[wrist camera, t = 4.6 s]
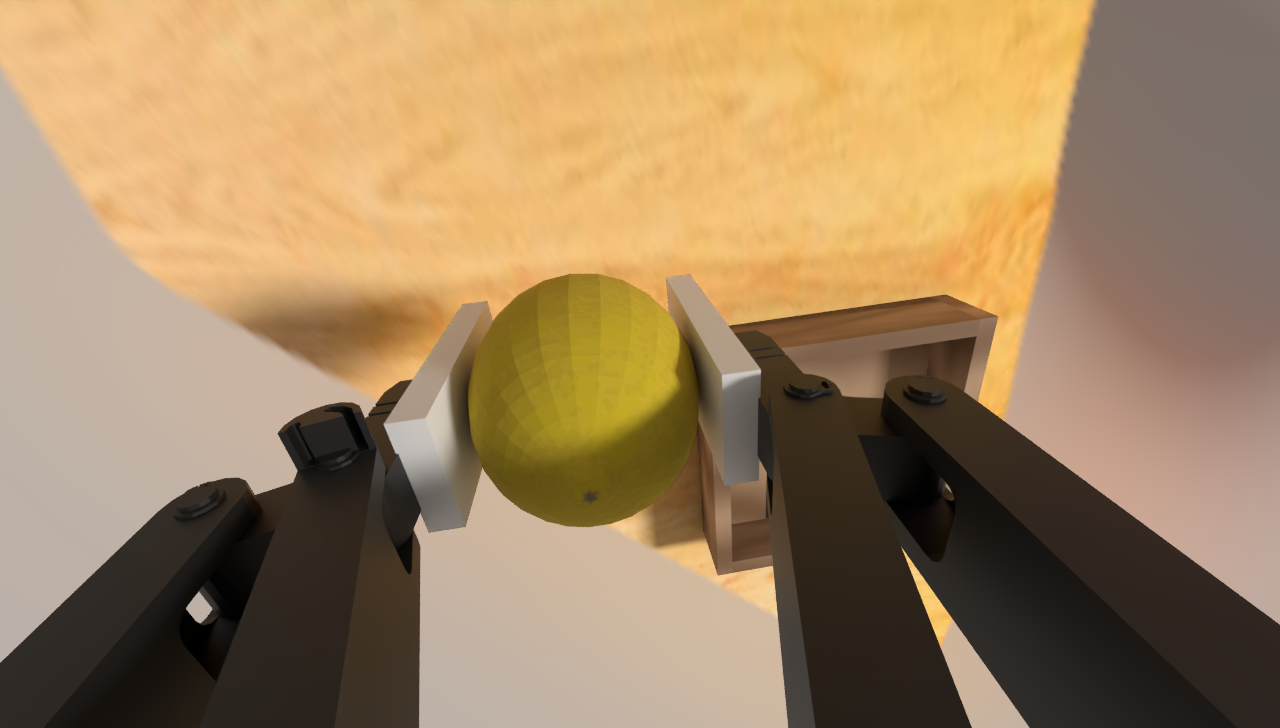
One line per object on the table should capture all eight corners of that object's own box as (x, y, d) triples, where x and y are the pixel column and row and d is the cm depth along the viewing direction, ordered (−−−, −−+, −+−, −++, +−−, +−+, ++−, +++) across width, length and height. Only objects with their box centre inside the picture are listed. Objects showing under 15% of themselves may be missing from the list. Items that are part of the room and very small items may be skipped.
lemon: (577, 430, 17) (574, 642, 10) (460, 320, 15) (349, 492, 8) (701, 338, 16) (796, 502, 9) (595, 205, 14) (611, 282, 7)
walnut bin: (691, 331, 28) (708, 359, 25) (946, 294, 29) (998, 316, 26) (703, 530, 35) (718, 575, 32) (908, 495, 36) (945, 534, 33)
